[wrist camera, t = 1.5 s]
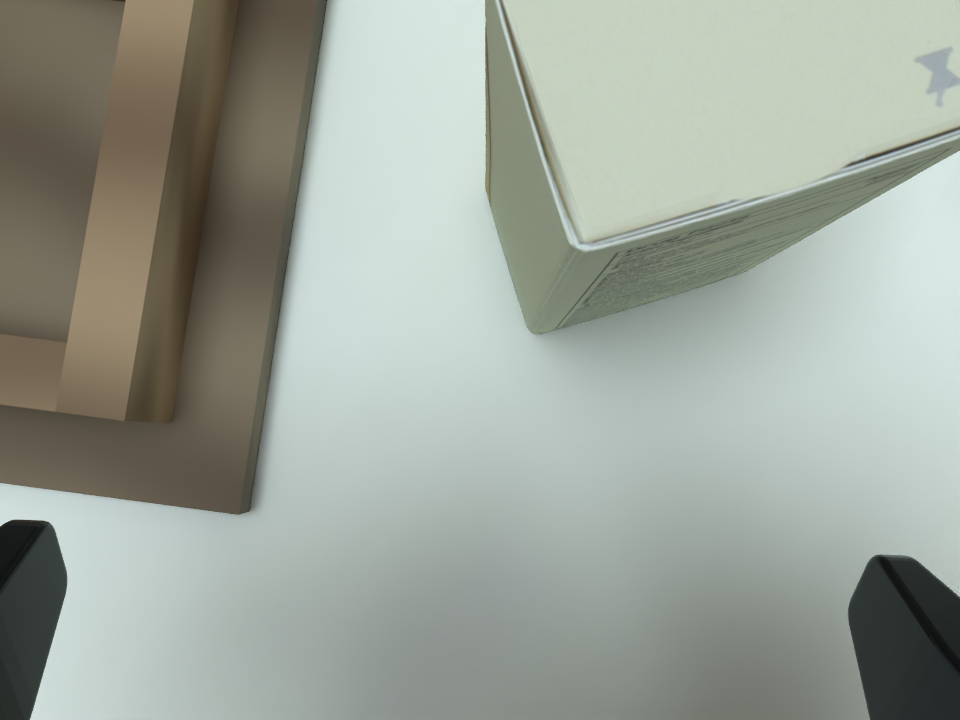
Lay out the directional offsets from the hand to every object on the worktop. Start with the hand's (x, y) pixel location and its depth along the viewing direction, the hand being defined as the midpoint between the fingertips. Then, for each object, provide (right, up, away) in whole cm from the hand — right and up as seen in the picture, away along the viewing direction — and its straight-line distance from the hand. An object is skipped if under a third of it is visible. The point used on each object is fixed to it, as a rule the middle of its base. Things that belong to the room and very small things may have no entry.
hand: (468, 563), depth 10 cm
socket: (-13, +7, +14) cm, 20 cm away
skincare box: (+4, +6, +14) cm, 16 cm away
